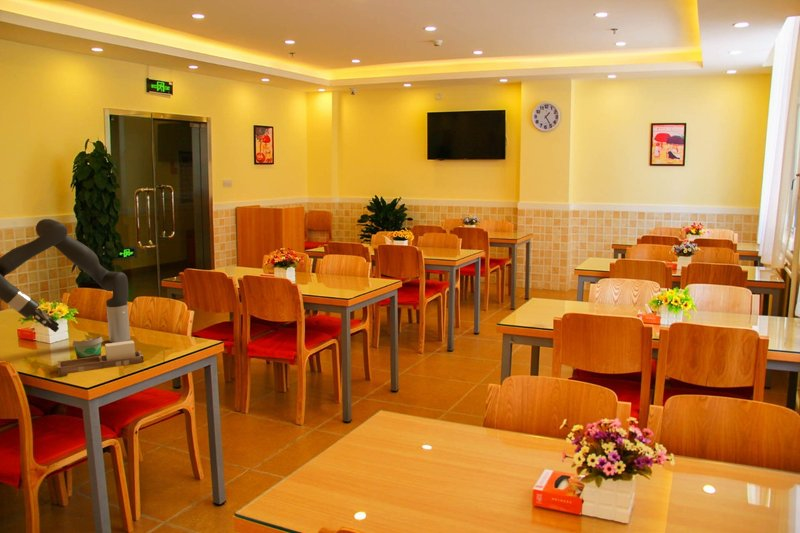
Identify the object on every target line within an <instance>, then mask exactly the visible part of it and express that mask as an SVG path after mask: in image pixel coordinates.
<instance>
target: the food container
mask: <svg viewBox="0 0 800 533" xmlns="http://www.w3.org/2000/svg"><path fill="white" fill-rule="evenodd" d="M102 342H103V337H102V336H101V335H99V337H95V338H86V339H84V340H81V341H79V340H73V342H72V346H73V347H74V350H75V356H76V359H81V358H89V357H96V356H102Z"/></svg>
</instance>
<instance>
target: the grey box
mask: <svg viewBox="0 0 800 533" xmlns="http://www.w3.org/2000/svg"><path fill="white" fill-rule="evenodd" d="M104 346H105V347H104V348H105V355H106V360H107V361H108V360H115V359H123V358H130V357H136V356H135V351H136V347H135V346H136V345H135V342H134V340H129V341H124V342H116V343H112V342H110V343H108V342H107V343H104Z"/></svg>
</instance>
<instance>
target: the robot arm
mask: <svg viewBox="0 0 800 533" xmlns="http://www.w3.org/2000/svg"><path fill="white" fill-rule="evenodd" d="M35 232H36V234H37V236H38V237H37V238H36V239H34V240H32V241H29V242H28V243H25V244H22V245H19V246H16V247H14V248H12V249H10V250H9V251H8V252H6V253H5V254H3V255H2V256H1V257H0V300H1V301H3V302H4V303H6V304H7V305H8V306H9V308H11V309H13V310H15V311H16V312H17V313H18V314H20V315H22V316H23V317H24V318H25V319H28V318H29V317H30V316H32V317H33V319H34V321H37V322H39V324H41V325H42V326H44V327H45V328H49V329H50V330H51V331H53V332H55V333H56V332H58V331H59V329H60V327H59V325H60V324H59V323H58V322H57V321H56V320H54V319H53V318H52V317H51V316H50V315H49V314H48V313H46V312H45V311H44V310H43V309H41V308H39V306H40V302H38V301H37V300H35V299H34V298H33V297H31V296H30V295H28V294H27V293H26V292H23V291H22V290H21V289H19V288H18V287H16V286H15V285H14V284H12V283H10V282H9V280H7V278H6V277H5V276H7V275H9V274H10V273H12V272H14V271H15V270H16V269H18V268H19V267H20V266H22V265H23V264H25V263H26V262H27V261H29V260H31V259H32V258H34V257H36V256H38V254H41V253H42V252H45V251H46V250H48V249H50V248H52V247H55V248H56V249H57V250H58V251H59V252H60V253H61V254H62V255H64V256H65V257H66V258H67V259H68V260H70V262H72V264H73V265H74V266H76V267H78V268H79V269H80V270H82V271H83V272H84V273H86V274H87V275H88V276H89V277H91V278H92V279H93V280H94V281H95V282H96V283H97V284H98V285H99V286H100V287H101V288H102V289H103V290H105V291H106V292H112V296H111V298H109V299H107V300H106V301H105V305H106V314H107V316H106V317H107V325H108V326H107V327H108V337H109V342H110V343H116V342H124V341H131V332H130V330H131V329H130V318H129V308H128V300H129V281H128V280H129V279H128V276H127V275H126V274H125V273H124V272H121V271H111V270H108V269H107V268H105V267H103V265H101V264H100V260H99V257H98V255H97V254H96V253H95V252H94V251H93V249H91V248H89V247H88V246H86V245H85V244H83V242H81V241H79V240H77V239H75V238H73V237H71V236H70V235H68V228H67V226H66V225H65V224H64V223H62V222H59V221H57V220H54V219H51V218H43V219H41V220H39V221H38V222H37V224H36V226H35Z"/></svg>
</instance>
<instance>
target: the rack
mask: <svg viewBox="0 0 800 533" xmlns="http://www.w3.org/2000/svg"><path fill="white" fill-rule="evenodd" d="M141 351H142V350H135V356H136V357H130V358H123V359H115V360H108V361H107V360H106V354H105V355H101V356H96V357H89V358H81V359H77V358H75V359H69V360H66V359H65V360H60V361H57V372H58V377H66V376H69V375H68V374H70V373H77V372H85V371H91V370H98V369H105V368H113V367H120V366H127V365H132V364H133V365H134V364H140V363H144V362H145V361H144V355H143V353H142V352H141Z"/></svg>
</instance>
